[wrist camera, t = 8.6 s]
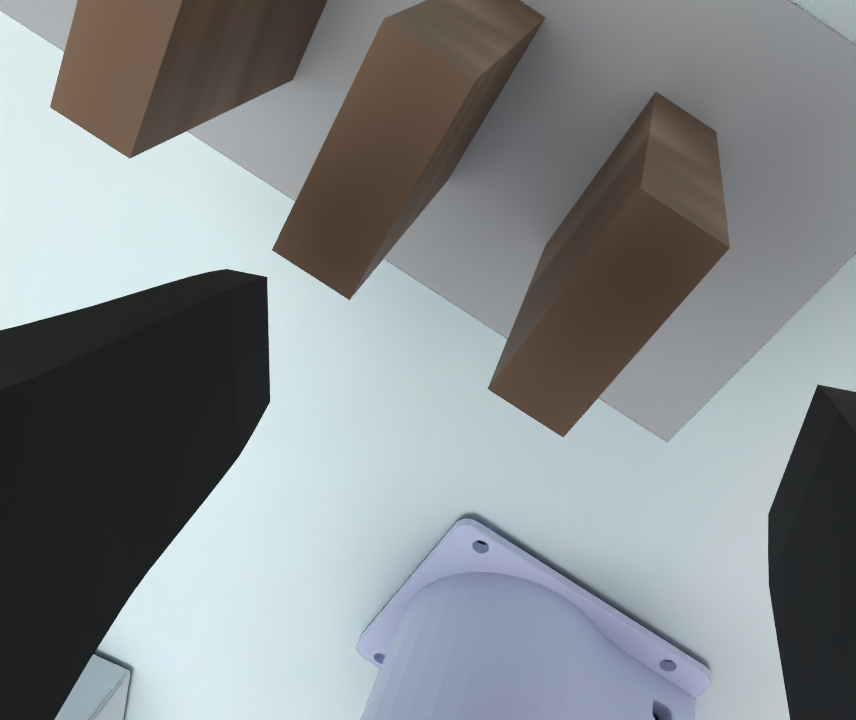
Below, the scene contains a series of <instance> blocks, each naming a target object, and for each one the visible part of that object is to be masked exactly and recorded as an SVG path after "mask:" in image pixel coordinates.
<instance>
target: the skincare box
mask: <svg viewBox="0 0 856 720" xmlns="http://www.w3.org/2000/svg"><path fill="white" fill-rule="evenodd" d="M129 679H130V672H129V670H127V669H125V668H122V667H120V666H118V665H116V664H114V663H111V662H109V661H107V660H105V659H103V658H101V657H98V656H96V655H95V654H93V655H92V657H91V659H90V660H89V662H88V664H87V665H86V667H85V669H84V670H83V672H82V674H81V676H80V677H79V679H78V681H77V682H76V684H75V686H74V687H73V689H72V691H71V692H70V694H69V696H68V698H67V699H66V701H65V703H64V704H63V706H62V708H61V709H60V711H59V713H58V714H57V716H56V718H55V720H123V719H124V712H125V705H126V699H127V692H128V685H129Z"/></svg>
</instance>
